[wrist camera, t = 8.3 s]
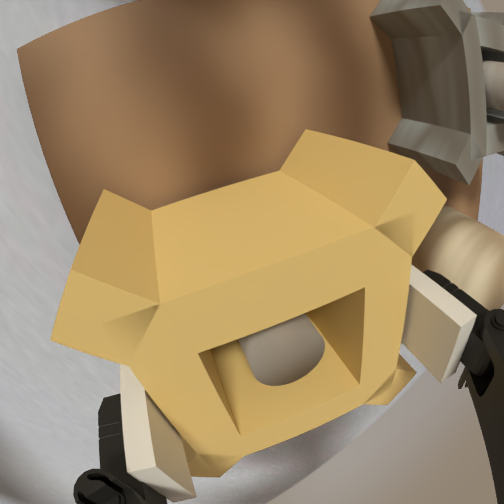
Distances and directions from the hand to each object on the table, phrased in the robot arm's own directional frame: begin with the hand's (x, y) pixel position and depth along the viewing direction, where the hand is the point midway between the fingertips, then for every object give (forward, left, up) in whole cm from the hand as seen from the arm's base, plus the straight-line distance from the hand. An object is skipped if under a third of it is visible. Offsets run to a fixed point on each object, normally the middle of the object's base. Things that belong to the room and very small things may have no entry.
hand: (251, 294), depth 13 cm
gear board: (+6, +3, -4) cm, 8 cm away
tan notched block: (0, 0, -2) cm, 2 cm away
